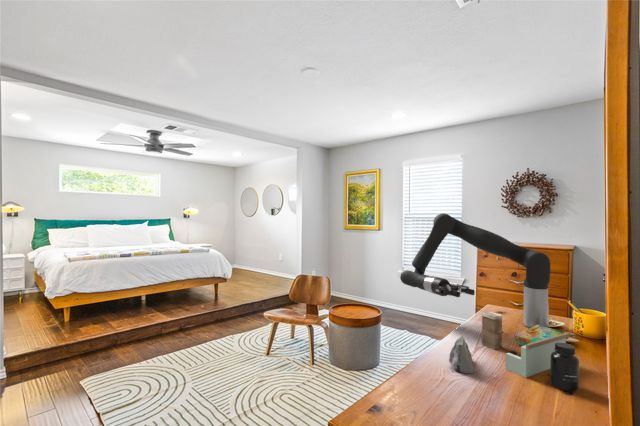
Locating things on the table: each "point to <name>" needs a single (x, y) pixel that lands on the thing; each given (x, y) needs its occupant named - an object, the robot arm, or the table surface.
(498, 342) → the brown wooden block
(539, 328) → the puzzle game
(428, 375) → the table surface
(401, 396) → the table surface
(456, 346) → the mineral rock
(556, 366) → the supplement bottle
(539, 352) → the mint green shelf
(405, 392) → the table surface
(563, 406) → the table surface
